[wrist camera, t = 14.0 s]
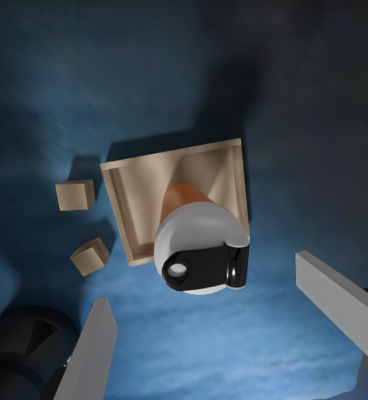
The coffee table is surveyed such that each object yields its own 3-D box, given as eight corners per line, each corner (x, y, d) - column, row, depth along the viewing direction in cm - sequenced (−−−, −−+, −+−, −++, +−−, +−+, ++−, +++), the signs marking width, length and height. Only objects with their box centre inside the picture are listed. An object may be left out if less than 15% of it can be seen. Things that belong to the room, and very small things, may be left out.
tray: (131, 257, 37) (129, 266, 34) (105, 162, 32) (99, 164, 30) (243, 233, 39) (249, 240, 36) (233, 139, 34) (240, 138, 31)
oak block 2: (91, 263, 37) (83, 276, 33) (79, 245, 36) (69, 257, 32) (110, 254, 37) (104, 266, 33) (99, 236, 36) (92, 247, 32)
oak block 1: (71, 203, 34) (60, 210, 30) (67, 180, 33) (55, 184, 29) (96, 202, 34) (87, 209, 30) (92, 179, 33) (83, 183, 29)
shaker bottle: (152, 182, 33) (140, 229, 14) (204, 173, 34) (261, 206, 14) (162, 230, 35) (163, 327, 16) (210, 221, 36) (266, 304, 17)
